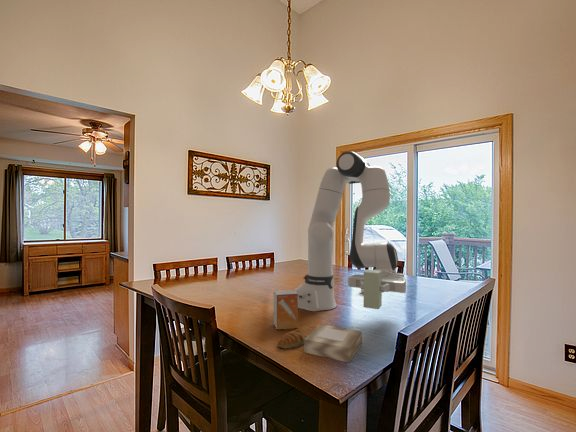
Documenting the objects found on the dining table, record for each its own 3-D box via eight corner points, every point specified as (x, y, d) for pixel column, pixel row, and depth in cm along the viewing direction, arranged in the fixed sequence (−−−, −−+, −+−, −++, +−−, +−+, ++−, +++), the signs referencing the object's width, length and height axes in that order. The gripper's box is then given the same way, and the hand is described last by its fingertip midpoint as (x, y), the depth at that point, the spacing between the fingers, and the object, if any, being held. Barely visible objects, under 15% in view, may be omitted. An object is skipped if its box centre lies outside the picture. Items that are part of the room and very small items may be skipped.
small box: (276, 330, 108) (276, 294, 108) (273, 324, 114) (273, 290, 114) (298, 328, 110) (298, 293, 110) (294, 322, 116) (293, 289, 116)
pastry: (287, 352, 91) (287, 340, 91) (272, 346, 96) (272, 334, 96) (307, 343, 98) (307, 331, 98) (292, 337, 103) (292, 326, 103)
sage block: (363, 307, 102) (363, 271, 102) (367, 303, 106) (367, 269, 106) (378, 309, 100) (378, 273, 100) (381, 305, 104) (381, 270, 104)
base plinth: (304, 352, 91) (304, 338, 91) (321, 335, 103) (321, 323, 103) (349, 362, 85) (349, 347, 85) (361, 343, 97) (361, 330, 97)
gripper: (353, 269, 119) (342, 275, 107) (408, 274, 110) (403, 281, 98) (353, 285, 119) (342, 293, 107) (408, 291, 110) (403, 301, 98)
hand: (372, 287), depth 102 cm, fingers closed on sage block, 5 cm apart
